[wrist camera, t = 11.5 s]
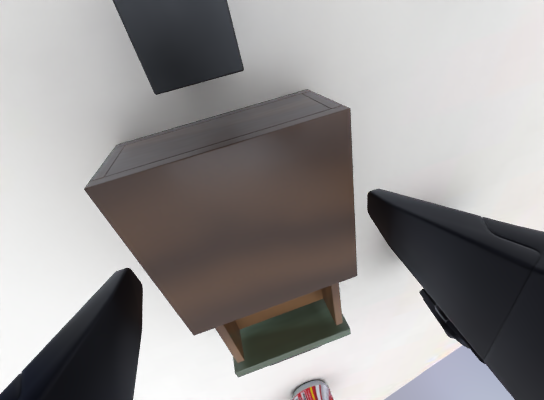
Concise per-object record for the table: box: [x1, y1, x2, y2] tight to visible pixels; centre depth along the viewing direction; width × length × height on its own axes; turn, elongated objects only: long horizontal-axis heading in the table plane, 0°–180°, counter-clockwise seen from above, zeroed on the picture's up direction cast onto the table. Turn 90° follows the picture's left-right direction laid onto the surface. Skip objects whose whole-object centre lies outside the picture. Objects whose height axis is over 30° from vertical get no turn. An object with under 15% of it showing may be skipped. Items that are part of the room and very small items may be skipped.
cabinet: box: [84, 89, 357, 335], centre depth 20 cm, size 15×15×7 cm
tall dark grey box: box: [113, 0, 244, 95], centre depth 12 cm, size 5×4×8 cm, turn 12°
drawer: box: [216, 283, 350, 377], centre depth 28 cm, size 18×13×5 cm
